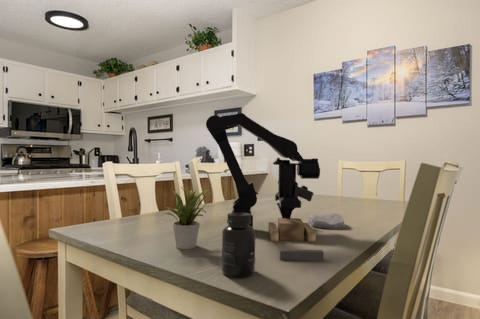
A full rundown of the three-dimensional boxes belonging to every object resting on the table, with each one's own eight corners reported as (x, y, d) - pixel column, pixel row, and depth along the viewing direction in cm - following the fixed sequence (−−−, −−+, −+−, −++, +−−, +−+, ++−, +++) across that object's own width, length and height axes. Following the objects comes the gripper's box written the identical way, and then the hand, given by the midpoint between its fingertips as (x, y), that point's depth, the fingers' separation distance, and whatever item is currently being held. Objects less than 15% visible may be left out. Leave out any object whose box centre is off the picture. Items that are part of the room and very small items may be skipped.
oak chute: (271, 241, 86) (271, 230, 86) (268, 231, 98) (268, 222, 98) (315, 242, 85) (315, 231, 85) (307, 232, 97) (307, 222, 97)
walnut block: (279, 240, 88) (279, 223, 88) (277, 233, 96) (278, 218, 96) (303, 241, 87) (304, 223, 87) (300, 234, 95) (300, 218, 95)
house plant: (225, 241, 85) (226, 183, 85) (206, 256, 71) (206, 188, 71) (179, 237, 89) (180, 182, 89) (153, 251, 76) (154, 185, 76)
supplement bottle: (259, 276, 60) (260, 216, 60) (226, 280, 58) (227, 217, 58) (248, 265, 66) (249, 210, 66) (218, 268, 64) (219, 211, 64)
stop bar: (280, 259, 70) (280, 251, 70) (279, 257, 71) (279, 249, 71) (323, 260, 70) (323, 251, 70) (321, 258, 71) (321, 249, 71)
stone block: (347, 235, 102) (340, 223, 112) (347, 221, 101) (340, 210, 111) (311, 235, 103) (307, 223, 113) (311, 221, 102) (307, 211, 112)
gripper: (318, 180, 91) (317, 232, 90) (305, 177, 109) (305, 220, 109) (281, 180, 91) (280, 232, 91) (275, 176, 109) (274, 219, 109)
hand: (286, 225), depth 100 cm, fingers closed
